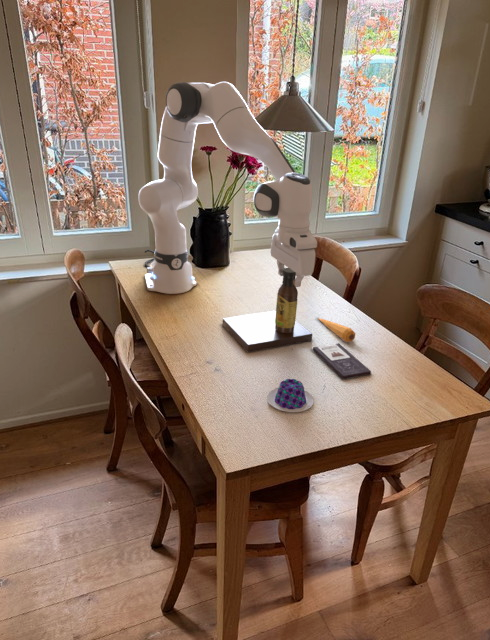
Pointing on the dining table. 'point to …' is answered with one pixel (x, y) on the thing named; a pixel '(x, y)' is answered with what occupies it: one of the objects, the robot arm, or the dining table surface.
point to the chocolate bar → (341, 361)
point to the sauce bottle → (286, 303)
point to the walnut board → (263, 331)
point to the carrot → (340, 330)
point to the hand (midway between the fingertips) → (289, 280)
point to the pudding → (290, 396)
